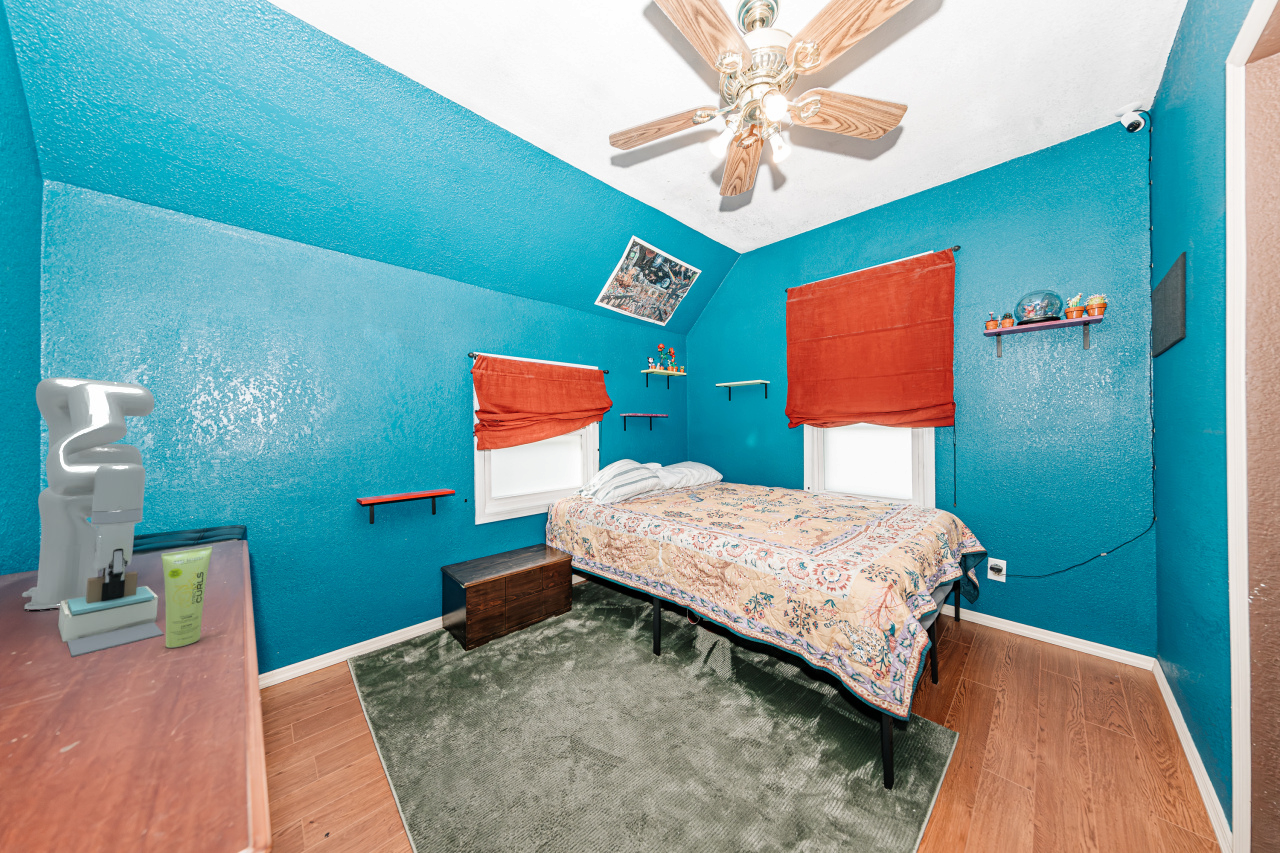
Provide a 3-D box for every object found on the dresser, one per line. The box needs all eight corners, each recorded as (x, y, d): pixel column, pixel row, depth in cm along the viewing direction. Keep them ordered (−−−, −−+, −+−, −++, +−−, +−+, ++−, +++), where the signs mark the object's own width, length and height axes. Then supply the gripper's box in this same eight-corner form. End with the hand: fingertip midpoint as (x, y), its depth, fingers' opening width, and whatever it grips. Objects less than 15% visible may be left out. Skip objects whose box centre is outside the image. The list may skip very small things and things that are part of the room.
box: (58, 626, 96) (60, 600, 96) (145, 608, 107) (146, 585, 107) (62, 642, 88) (65, 614, 89) (156, 621, 99) (157, 596, 99)
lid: (67, 603, 95) (69, 577, 96) (144, 589, 105) (145, 566, 105) (72, 614, 89) (74, 587, 89) (153, 599, 98) (155, 574, 99)
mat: (67, 642, 88) (67, 641, 88) (153, 623, 98) (153, 622, 98) (71, 657, 82) (71, 655, 82) (163, 634, 92) (163, 633, 92)
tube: (182, 649, 86) (189, 552, 87) (154, 650, 85) (161, 553, 86) (207, 637, 91) (212, 546, 92) (180, 638, 90) (186, 546, 92)
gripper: (87, 516, 99) (80, 595, 98) (95, 523, 90) (88, 610, 89) (136, 512, 106) (130, 586, 104) (148, 518, 97) (142, 599, 96)
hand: (111, 596), depth 97 cm, fingers closed on lid, 3 cm apart
